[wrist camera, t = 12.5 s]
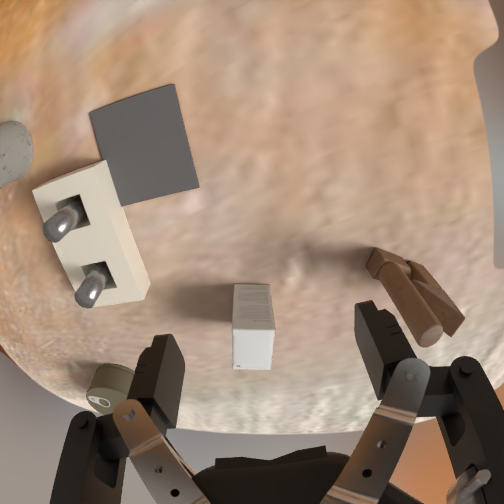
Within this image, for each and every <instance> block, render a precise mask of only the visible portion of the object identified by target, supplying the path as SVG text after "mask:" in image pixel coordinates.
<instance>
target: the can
mask: <svg viewBox="0 0 504 504" xmlns="http://www.w3.org/2000/svg"><path fill="white" fill-rule="evenodd" d="M134 374H135V371H133V370H131V369H129V368H127V367H125V366H122V365H118V364H104V365H101V366H100V367H99V368H98V369H97V371H96V374H95V376H94V378H93V381H92V383H91V386H90V388H89V390H88V391H87V394H86V398H87V400H88V402H89V404H90V405H91V406H92V407H93V408H94V409H95V410H97V411H98V412H99V413H101V414H103V415H107V414H111V413H113V411H114V409H115V407H116V406H117V405H118V404H119V403H121V402H122V401H124V400H126V399H127V396H128V393H129V389H130V386H131V382H132V379H133V376H134Z"/></svg>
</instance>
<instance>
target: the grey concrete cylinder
mask: <svg viewBox="0 0 504 504" xmlns="http://www.w3.org/2000/svg"><path fill="white" fill-rule="evenodd" d="M32 159H33V143H32V139H31V136H30V134H29V132H28V130H27V129H26V127H25V126H24V125H22V124H21V123H19V122H17V121H9V122H6V123H3V124H0V188H2V187H4V186H5V185H7V184H9V183H11V182H13V181H15V180H17V179H19V178H21V177H23V176H24V175H25V174H26V173H27V171H28V170H29V168H30V166H31V163H32Z"/></svg>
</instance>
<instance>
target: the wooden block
mask: <svg viewBox="0 0 504 504" xmlns="http://www.w3.org/2000/svg"><path fill="white" fill-rule="evenodd" d="M366 267H367V269H368V271H369V272H370V274H371V276H372V277H373V278H374V279H377V280H380V281H381V283H382V284H383V286H384V288H385V289H386V291H387V292H388V294H389V296H390V297H391V299H392V301H393V302H394V304H395V306H396V307H397V309H398V311H399V312H400V314H401V316H402V318H403V319H404V321H405V323H406V324H407V326H408V328H409V330H410V331H411V333H412V335H413V337H414V339H415V340H416V342H417V344H418V345H419V346H421V347H429V346H431V345H433V344H435V343H436V342H437V341H438V340H439V339H440V338H441V336H442V334H443V331H444V332H445V333H446V334H447V335H449V336H450V337H452V336H453V334H454V333H455V332H456V331H457V329H458V328H459V327H460V325H461V324H462V322H463V321H464V320H465V317H464V316H463V314H462V313H461V312H460V310H459V309H458V308H457V306H456V305H455V304H454V303H453V301H452V300H451V299H450V297H449V296H448V295H447V294H446V292H445V291H444V290H442V288H441V286H440V285H439V284H438V283H437V282H436V280H435V279H434V278H433V277H432V276H431V274H430V273H429V272H428V271H427V270H426V268H425V267H424V266H422V265H419V264H417V263H415V262H412V261H410V262H409V263H408V264H407V263H406V262H405V261H404V260H403V258H402V257H399V256H397V255H394V254H392V253H389V252H386V251H384V250H381V249H379V248H376V249H375V250H374V252H373V254H372V256H371V258H370V259H369V261H368V263H367V265H366Z"/></svg>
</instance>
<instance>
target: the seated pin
mask: <svg viewBox="0 0 504 504" xmlns="http://www.w3.org/2000/svg"><path fill="white" fill-rule="evenodd" d="M110 277H111V272H110V270H109V268H108V265H107V263H106V261H102V262H97V263H96V264H95V265H94V267H93V268H92V270H91V271H90V272H89V274H88V275H87V277H86V278H85V279H84V281H83V282H82V284H81V285H80V287H79V288H78V289H77V291H76V292H75V300H76V302H77V303H78V304H79V305H80V306H82V307H84V308H92V307H93V306H94V304H95V302H96V300H97V299H98V297H99V295H100V294H101V292H102V290H103V289H104V287H105V285H106V284H107V282H108V280H109V279H110Z"/></svg>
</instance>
